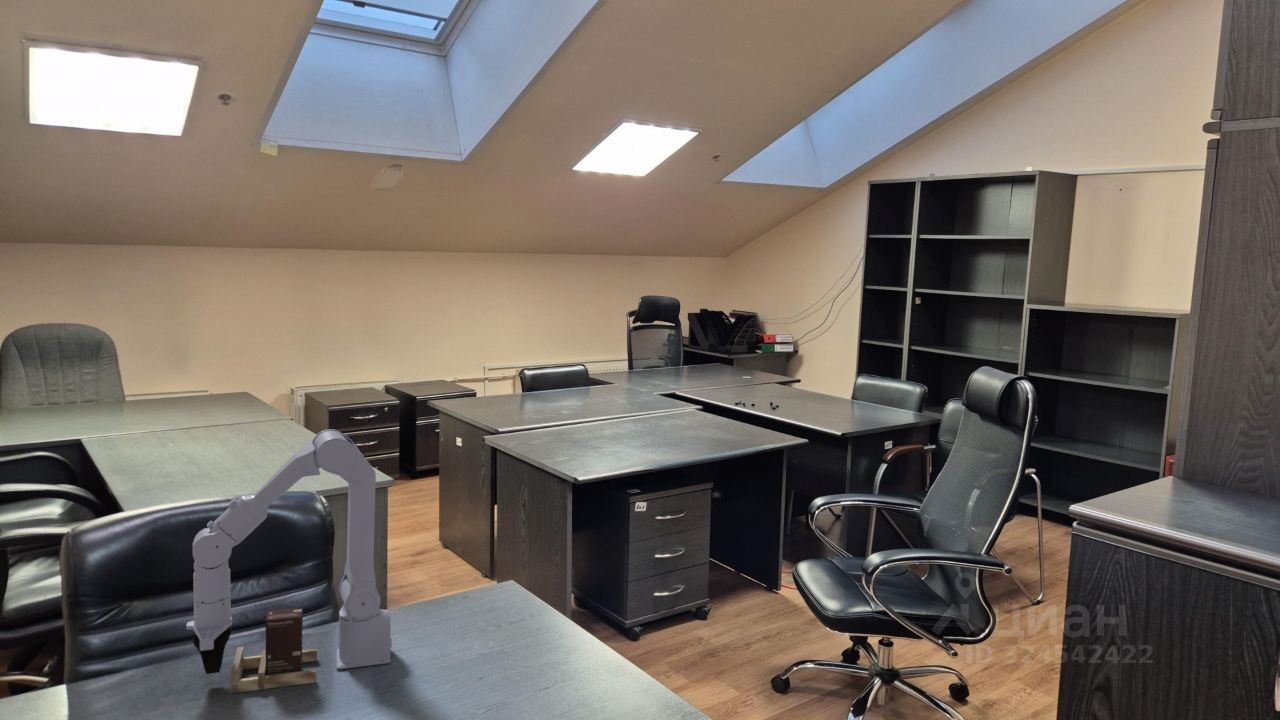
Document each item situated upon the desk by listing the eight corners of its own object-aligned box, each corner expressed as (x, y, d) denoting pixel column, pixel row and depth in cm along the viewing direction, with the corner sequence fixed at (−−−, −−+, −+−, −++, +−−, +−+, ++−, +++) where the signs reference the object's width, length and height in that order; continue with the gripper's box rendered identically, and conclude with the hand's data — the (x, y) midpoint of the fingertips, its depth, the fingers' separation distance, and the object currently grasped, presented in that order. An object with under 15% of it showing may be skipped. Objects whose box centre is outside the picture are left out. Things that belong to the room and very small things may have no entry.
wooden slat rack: (317, 658, 152) (316, 638, 152) (315, 682, 143) (315, 660, 143) (237, 668, 147) (237, 647, 147) (231, 693, 139) (231, 671, 138)
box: (265, 685, 142) (264, 619, 141) (267, 673, 146) (266, 609, 145) (302, 680, 144) (302, 615, 143) (303, 668, 148) (303, 605, 147)
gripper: (193, 583, 146) (194, 655, 147) (178, 616, 132) (179, 695, 133) (236, 580, 148) (237, 650, 149) (226, 611, 135) (227, 689, 136)
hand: (213, 671), depth 142 cm, fingers closed
